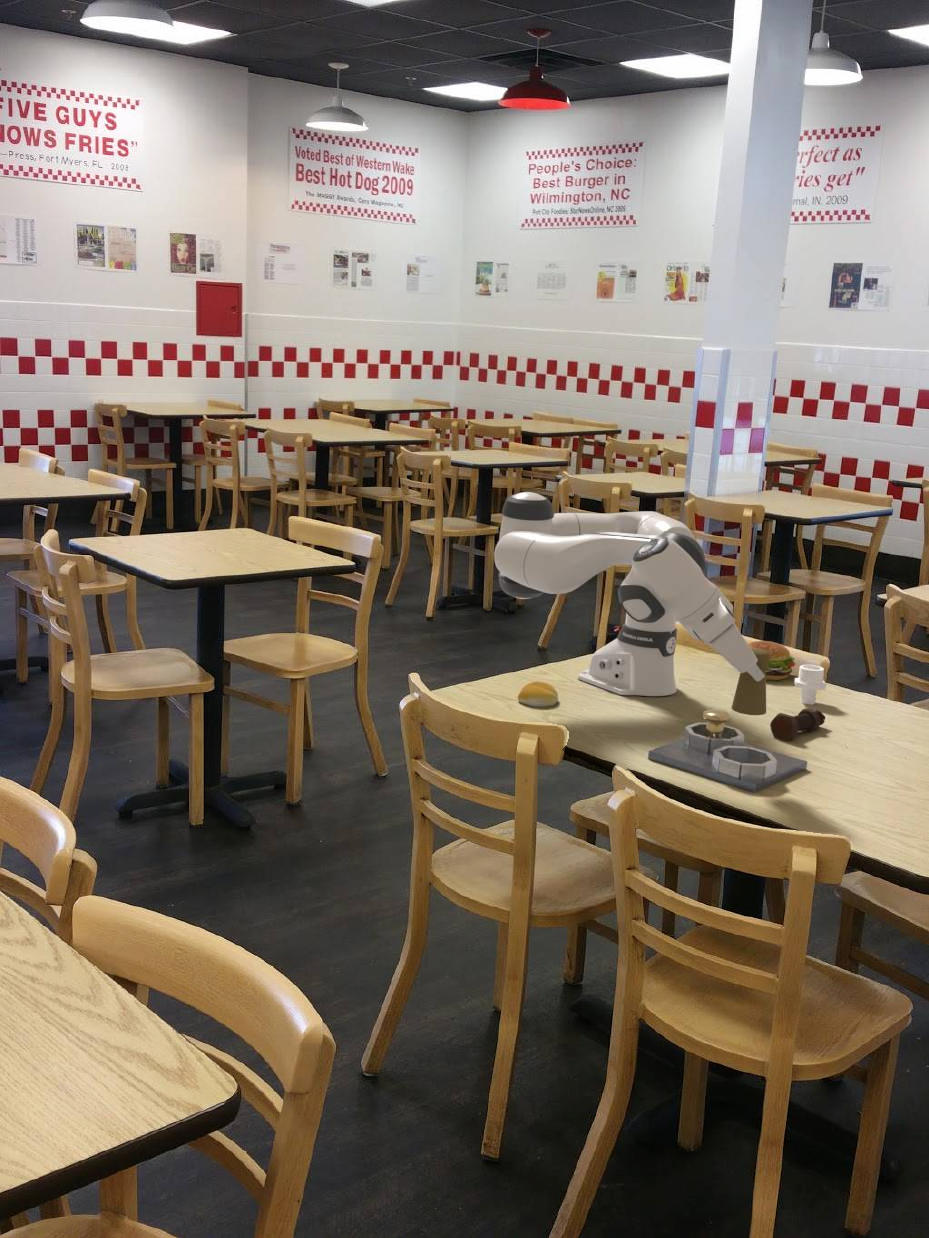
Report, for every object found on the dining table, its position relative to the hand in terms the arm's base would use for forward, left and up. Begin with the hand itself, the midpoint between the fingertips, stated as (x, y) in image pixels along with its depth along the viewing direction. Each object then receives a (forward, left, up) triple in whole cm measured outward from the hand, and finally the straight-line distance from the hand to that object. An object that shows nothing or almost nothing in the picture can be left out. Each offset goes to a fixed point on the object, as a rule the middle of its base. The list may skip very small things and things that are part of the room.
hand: (757, 673), depth 208 cm
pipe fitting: (-16, +55, -19) cm, 61 cm away
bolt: (-6, +33, -20) cm, 39 cm away
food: (-35, +69, -19) cm, 80 cm away
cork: (-1, -1, -7) cm, 7 cm away
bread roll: (-53, +6, -20) cm, 57 cm away
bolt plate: (-6, +4, -19) cm, 20 cm away
